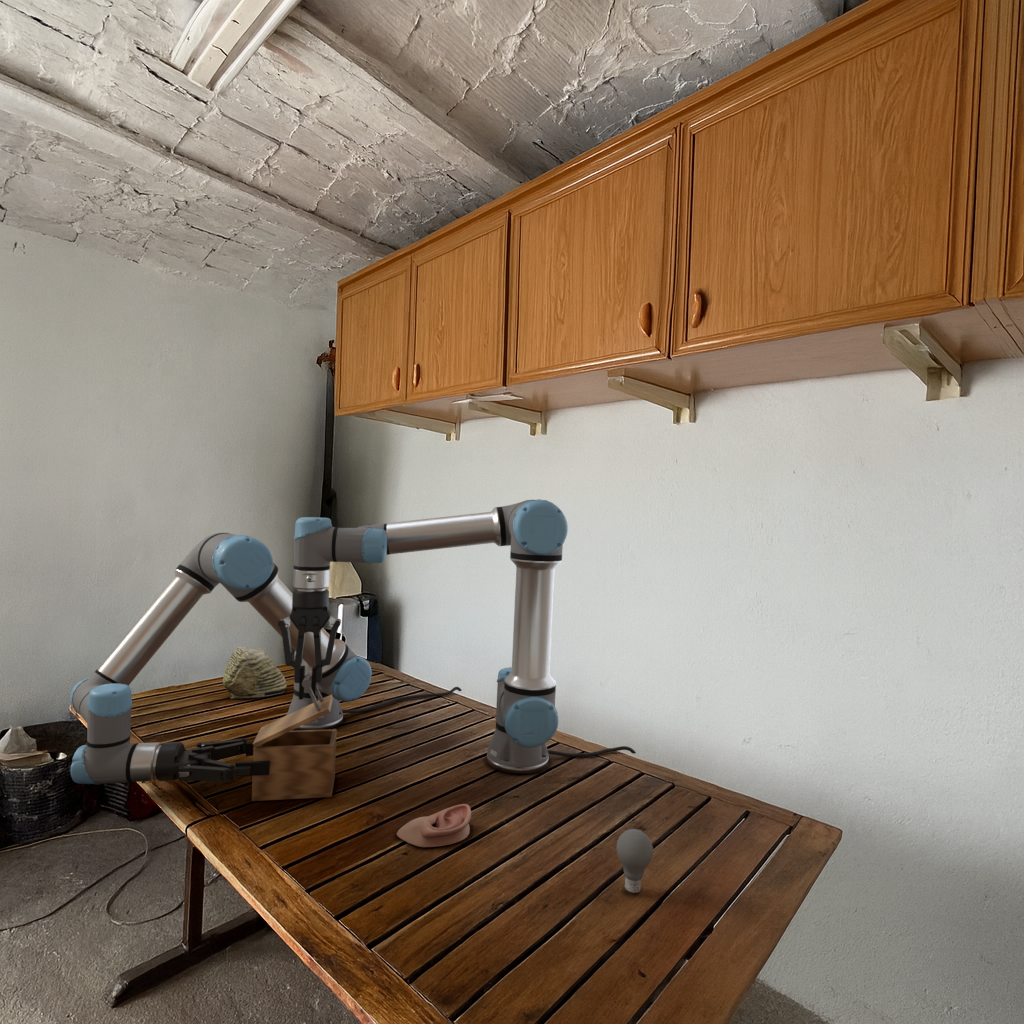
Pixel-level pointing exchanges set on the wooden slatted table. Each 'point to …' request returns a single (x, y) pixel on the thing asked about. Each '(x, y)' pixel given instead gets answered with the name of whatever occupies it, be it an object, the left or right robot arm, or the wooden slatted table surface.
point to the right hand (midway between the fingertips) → (307, 697)
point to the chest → (296, 766)
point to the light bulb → (634, 857)
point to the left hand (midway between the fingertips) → (273, 757)
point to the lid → (296, 715)
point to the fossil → (252, 674)
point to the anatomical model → (438, 827)
